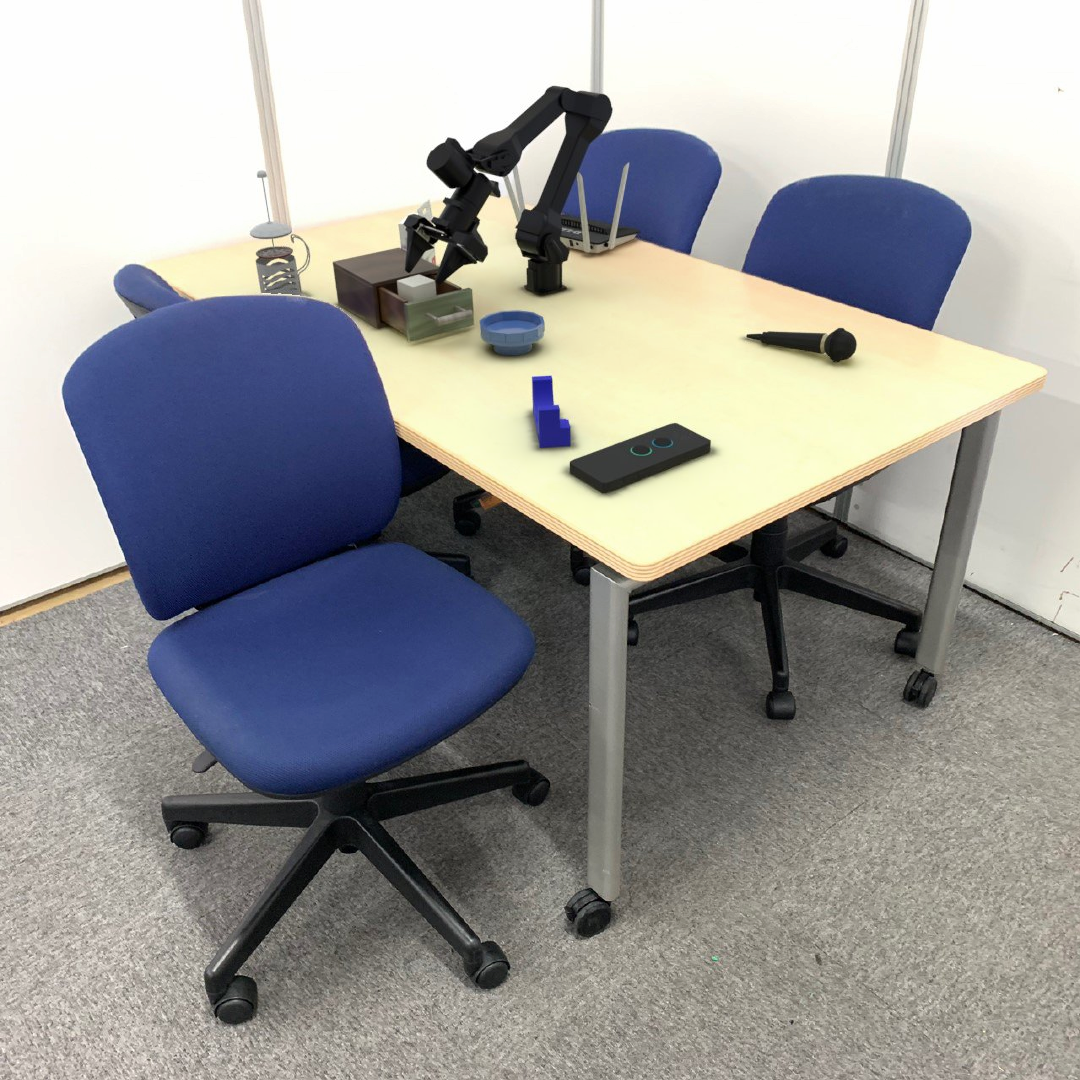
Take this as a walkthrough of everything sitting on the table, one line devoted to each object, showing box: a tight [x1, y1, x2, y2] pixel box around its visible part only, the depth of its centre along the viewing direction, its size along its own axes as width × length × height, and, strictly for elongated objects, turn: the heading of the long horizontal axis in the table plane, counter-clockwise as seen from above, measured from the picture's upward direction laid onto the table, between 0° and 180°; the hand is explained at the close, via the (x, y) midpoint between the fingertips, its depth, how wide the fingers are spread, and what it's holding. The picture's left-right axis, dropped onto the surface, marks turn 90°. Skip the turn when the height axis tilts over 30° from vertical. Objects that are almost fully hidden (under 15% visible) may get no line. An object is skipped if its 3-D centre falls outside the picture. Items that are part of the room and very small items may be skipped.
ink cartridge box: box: [397, 198, 437, 265], centre depth 213 cm, size 9×5×15 cm, turn 168°
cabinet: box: [332, 247, 440, 329], centre depth 198 cm, size 17×15×9 cm
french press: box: [249, 170, 311, 297], centre depth 199 cm, size 10×12×25 cm
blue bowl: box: [479, 309, 546, 356], centre depth 180 cm, size 11×11×5 cm
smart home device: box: [569, 422, 712, 494], centre depth 144 cm, size 8×2×20 cm
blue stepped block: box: [531, 375, 572, 449], centre depth 152 cm, size 12×4×6 cm, turn 5°
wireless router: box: [502, 162, 642, 254], centre depth 228 cm, size 34×23×20 cm
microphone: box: [745, 327, 858, 364], centre depth 176 cm, size 6×6×20 cm
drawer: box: [376, 274, 475, 343], centre depth 187 cm, size 21×13×7 cm, turn 35°
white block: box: [397, 275, 436, 302], centre depth 187 cm, size 5×5×7 cm
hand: (421, 277), depth 186 cm, fingers open, 9 cm apart
